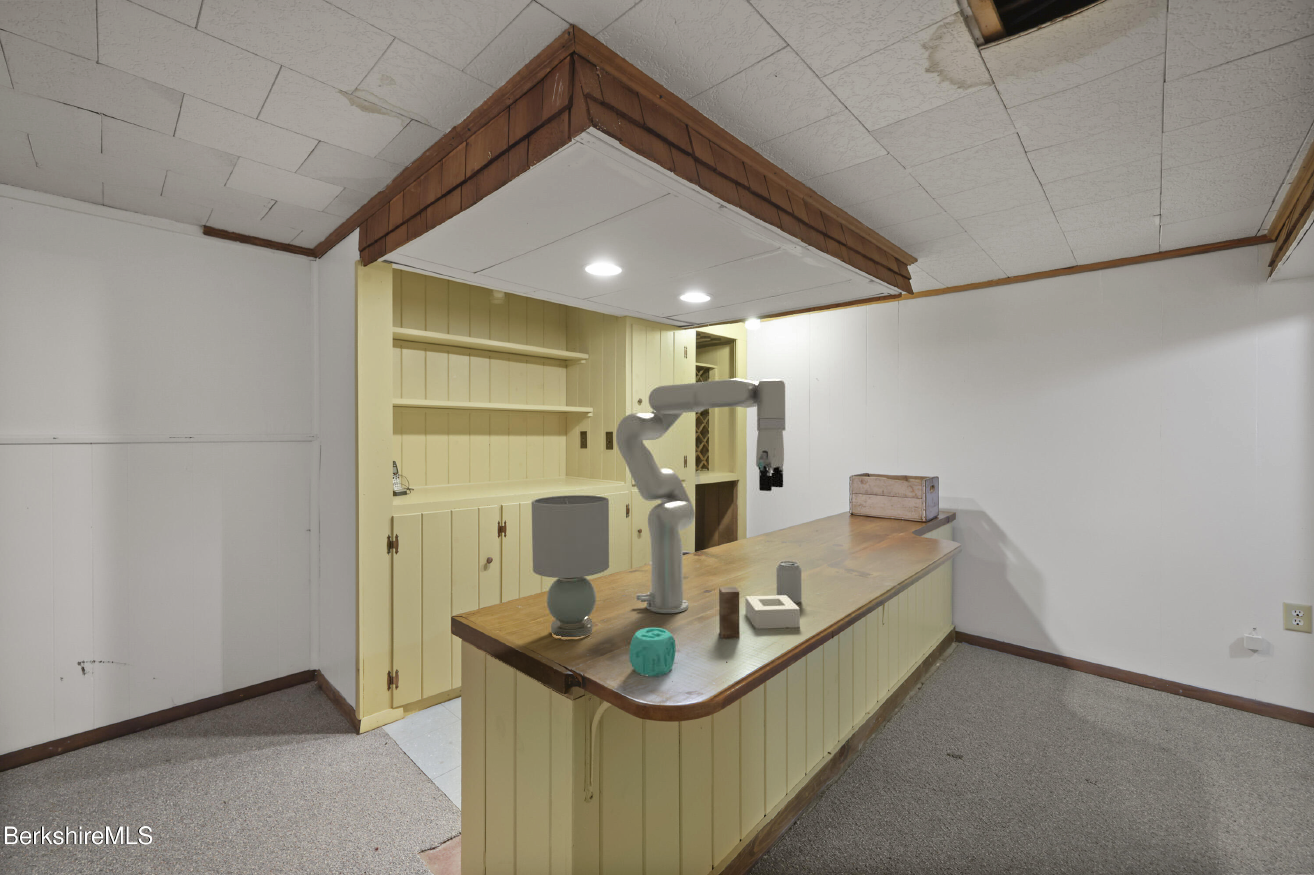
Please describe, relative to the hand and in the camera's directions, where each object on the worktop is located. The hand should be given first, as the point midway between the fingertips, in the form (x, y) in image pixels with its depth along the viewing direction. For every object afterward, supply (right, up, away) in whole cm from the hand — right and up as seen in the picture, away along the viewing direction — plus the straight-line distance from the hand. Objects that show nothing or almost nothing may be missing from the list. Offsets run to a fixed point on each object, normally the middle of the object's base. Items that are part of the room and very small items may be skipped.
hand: (771, 488), depth 149 cm
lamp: (-54, -38, -3) cm, 66 cm away
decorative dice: (-32, -38, -25) cm, 56 cm away
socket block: (+1, -37, +5) cm, 38 cm away
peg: (-12, -38, -6) cm, 40 cm away
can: (+10, -37, +22) cm, 44 cm away
